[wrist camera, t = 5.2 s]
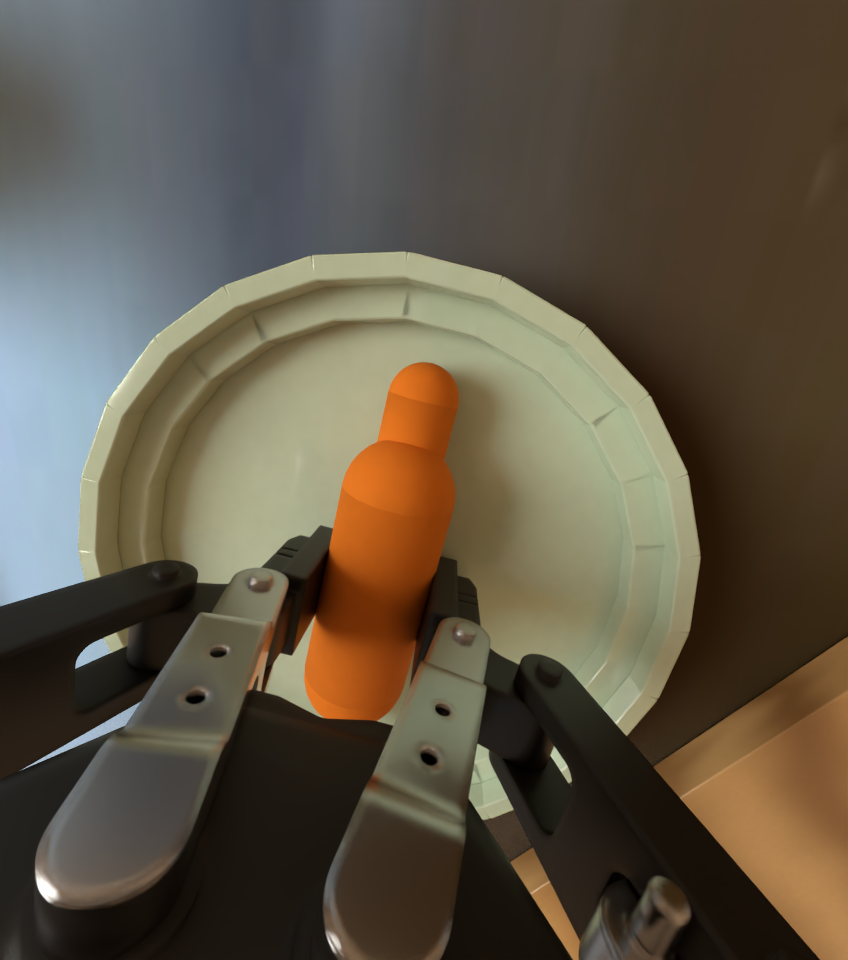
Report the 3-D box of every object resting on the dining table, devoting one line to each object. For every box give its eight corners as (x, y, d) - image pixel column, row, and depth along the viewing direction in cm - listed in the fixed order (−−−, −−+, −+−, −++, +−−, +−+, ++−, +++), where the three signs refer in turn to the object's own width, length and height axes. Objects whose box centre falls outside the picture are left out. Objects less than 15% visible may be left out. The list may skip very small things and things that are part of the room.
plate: (369, 126, 12) (349, 66, 10) (775, 560, 14) (838, 597, 12) (42, 553, 16) (-28, 584, 14) (399, 839, 18) (391, 907, 16)
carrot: (382, 350, 13) (357, 343, 10) (486, 377, 13) (494, 378, 10) (307, 701, 16) (271, 779, 13) (390, 723, 16) (373, 807, 13)
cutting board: (869, 619, 14) (916, 647, 13) (1089, 858, 16) (1152, 907, 15) (450, 901, 19) (450, 945, 17) (658, 1065, 21) (673, 1118, 19)
